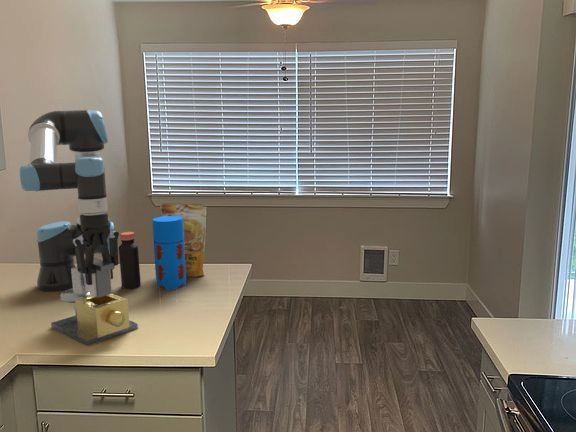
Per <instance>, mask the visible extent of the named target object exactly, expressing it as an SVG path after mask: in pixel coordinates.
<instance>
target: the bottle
mask: <svg viewBox="0 0 576 432" xmlns="http://www.w3.org/2000/svg"><path fill="white" fill-rule="evenodd" d="M119 234H120V242H121V243H120V245H119V246H118V260H119V269H120V270H119V271H120V281H121V287H122V288H123V289H125V290H126V289H132V290H133V289H136V288H139V287H140V286H141V283H142V282H141V270H140V267H141V266H140V256H139V253H140V252H139V246H138V244H137V243H135V239H136V238H135V232H134V231H124V232H121V233H119Z"/></svg>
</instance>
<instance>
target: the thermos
mask: <svg viewBox="0 0 576 432" xmlns="http://www.w3.org/2000/svg"><path fill="white" fill-rule="evenodd" d="M152 236H153V237H152V238H153V251H154V254H153V255H154V263H155V265H154V266H155V278H156V279H155V280H156V286H157V288H158V289H161V290H168V291H169V290H170V291H171V290H178V289H181V288H184V287H185V286H186V285H187V276H186V265H185V247H184V230H183V219H182V217H179V216H164V217H161V216H158V217H154V218H153V219H152Z"/></svg>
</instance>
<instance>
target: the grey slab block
mask: <svg viewBox="0 0 576 432" xmlns="http://www.w3.org/2000/svg"><path fill="white" fill-rule="evenodd" d="M114 267H115V266H114V263H111V262H108V261H105V260H103V258H102V259H101V258H98V257H94V260H93V270H92V273H95V279H96V291H97V296H96V297H102V296H105V295H109V294H111V293H112V292H111V286H112V281H111V282H110V269H113V270H114V269H115V268H114ZM89 294H90V293H89Z"/></svg>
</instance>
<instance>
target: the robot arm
mask: <svg viewBox="0 0 576 432" xmlns="http://www.w3.org/2000/svg"><path fill="white" fill-rule="evenodd" d="M27 138H28V141H29V143H30V151H29V161H28V164H23V165H21V166H20V167H19V180H20V181H19V182H20V186H21V189H22V190H23V191H25V192H36V193H37V192H42V191H55V190H71V189H73V190H74V189H75V190H76V189H77V199H78V201H77V202H78V212H79V216H78V218H77V219H76V224H72V223H71V222H70V221H67V220H66V221H56V222H52V223H49V224H45V225H42V226H41V227H39V228H38V230H37V231H36V235H37V236H36V237H37V240H36V242H37V247H38V255H39V264H40V266H39V272H38V274H37V279H36V287H37V290H39V291H45V292H55V291H65V290H68V289H72V288H73V284H72V273H71V268H73V267H77V269H78V272H80V273H83V274H84V273H85V279H86V284H87V285H89V293H90V295H92V296H97V291H96V279H95V273H92V270H93V260H94V258H95V255H101V257H102V260H105V261H108V262H111V263H114V269H115V267H116V266H119V246H118V245H119V244H118V240H119V234H120V233H119V231H116V230H115V224H114V222H112V221H110V217H109V213H108V212H107V211H109V210H108V199H107V196H108V195H107V185H106V168H105V164H104V158H103V157H101V153H102V152H103V150H104V149H105V145H106V144H108V143H109V140H108V134H107V129H106V125H105V121H104V117H103V113H102V112H101V111H99V110H93V109H91V110H88V109H84V110H83V109H79V110H77V109H76V110H53V111H50V112H49V111H48V112H46V113H44V114H42V115H41V116H39V117H38V118H36V119H35V120H34V121H33V122H32V123H31V125H30V126H29V128H28V134H27ZM58 146H69V147H68V148H69V151H70V152H72V153H73V154H74V162H58V156H57V155H58V151H57V149H58V148H57V147H58ZM74 258H75V259H74ZM75 260H76V264H75ZM114 269H110V282H111V283H112V280H113V279H114V272H113V270H114ZM112 288H113V287H112V285H111V293H112V292H113V289H112Z"/></svg>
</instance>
